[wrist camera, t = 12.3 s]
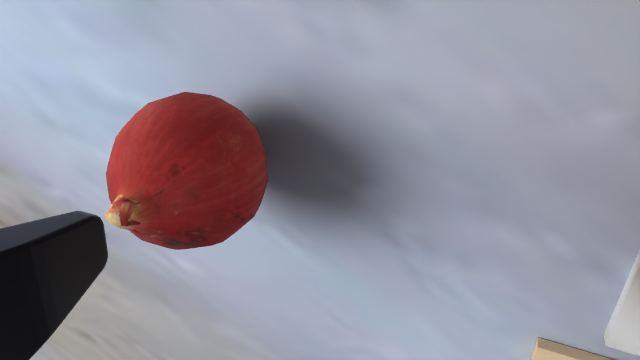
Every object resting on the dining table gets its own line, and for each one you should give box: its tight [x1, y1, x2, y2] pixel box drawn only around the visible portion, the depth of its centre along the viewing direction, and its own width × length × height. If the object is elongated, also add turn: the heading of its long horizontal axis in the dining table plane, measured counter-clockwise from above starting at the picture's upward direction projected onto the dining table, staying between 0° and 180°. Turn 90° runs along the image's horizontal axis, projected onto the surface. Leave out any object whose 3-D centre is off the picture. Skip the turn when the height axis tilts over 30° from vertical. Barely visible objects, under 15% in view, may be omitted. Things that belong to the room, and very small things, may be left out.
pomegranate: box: [105, 92, 268, 250], centre depth 20 cm, size 6×6×8 cm
